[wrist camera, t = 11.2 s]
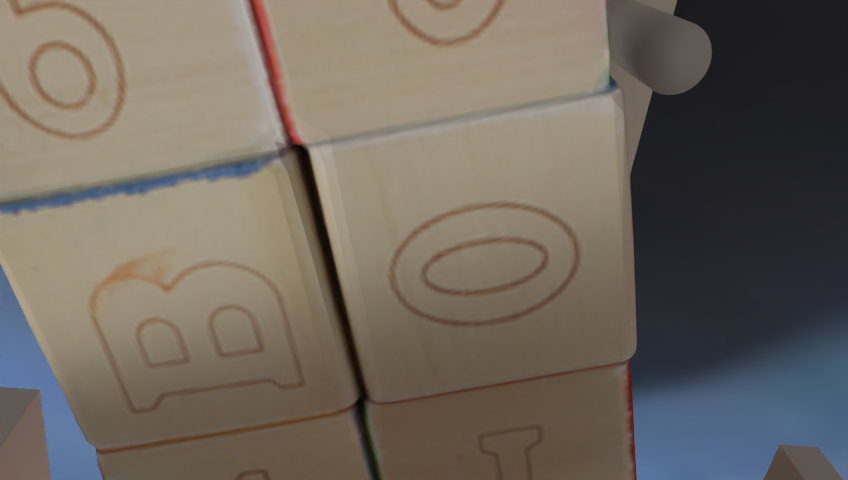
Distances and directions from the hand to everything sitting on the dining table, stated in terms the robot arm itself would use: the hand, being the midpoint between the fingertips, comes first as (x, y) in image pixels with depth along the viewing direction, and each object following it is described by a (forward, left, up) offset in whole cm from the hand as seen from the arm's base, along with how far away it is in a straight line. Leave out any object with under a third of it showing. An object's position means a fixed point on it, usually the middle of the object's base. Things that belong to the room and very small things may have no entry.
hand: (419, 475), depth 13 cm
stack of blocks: (0, 0, -6) cm, 6 cm away
